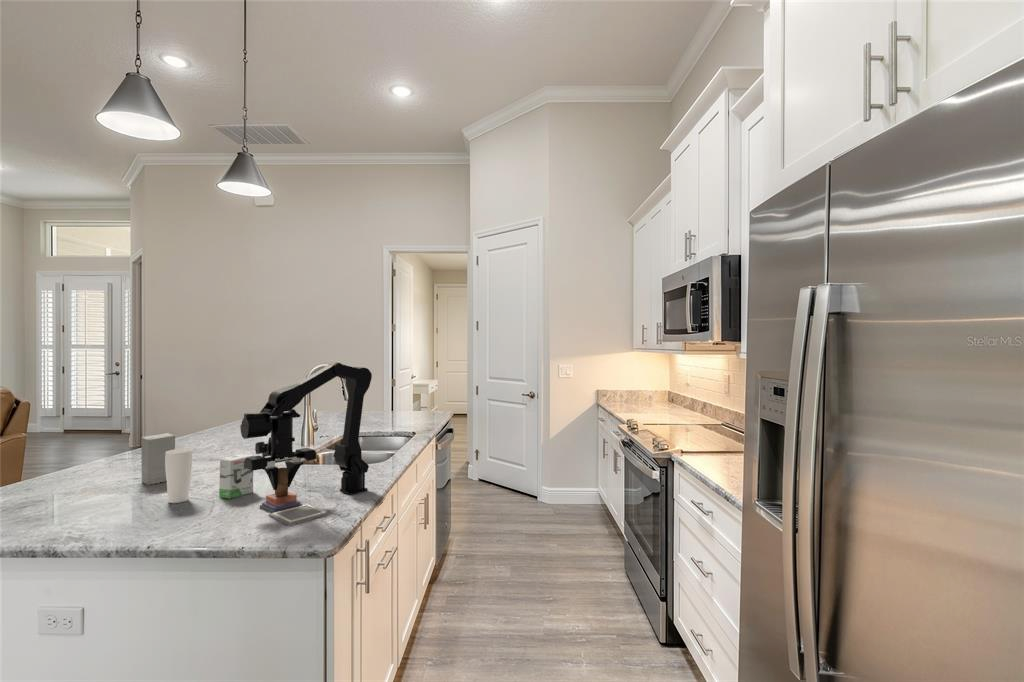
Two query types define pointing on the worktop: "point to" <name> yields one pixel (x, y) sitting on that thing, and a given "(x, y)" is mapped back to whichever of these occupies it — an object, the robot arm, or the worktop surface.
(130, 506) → the worktop surface
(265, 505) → the ink pad
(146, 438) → the skincare box
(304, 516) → the marked board
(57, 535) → the worktop surface
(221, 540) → the worktop surface
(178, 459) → the drinking glass
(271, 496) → the stamp
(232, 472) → the ink box
